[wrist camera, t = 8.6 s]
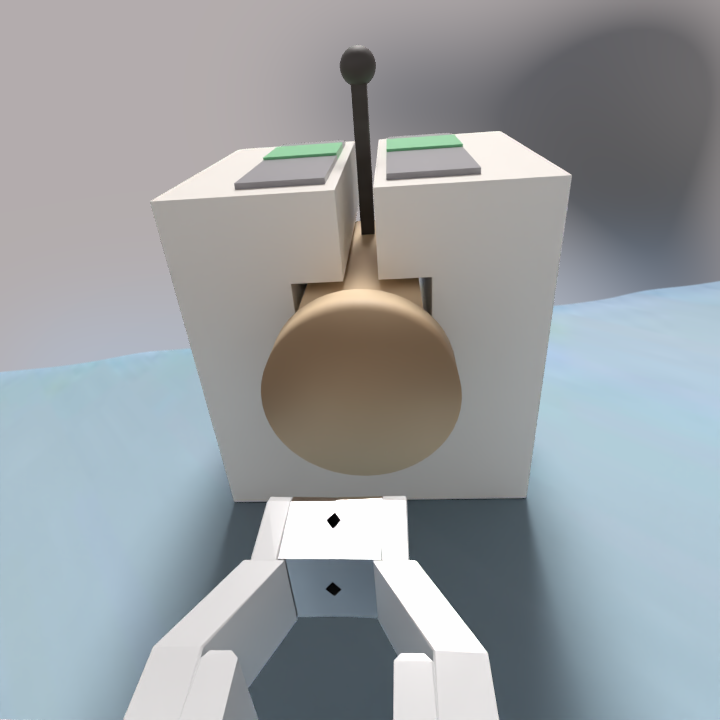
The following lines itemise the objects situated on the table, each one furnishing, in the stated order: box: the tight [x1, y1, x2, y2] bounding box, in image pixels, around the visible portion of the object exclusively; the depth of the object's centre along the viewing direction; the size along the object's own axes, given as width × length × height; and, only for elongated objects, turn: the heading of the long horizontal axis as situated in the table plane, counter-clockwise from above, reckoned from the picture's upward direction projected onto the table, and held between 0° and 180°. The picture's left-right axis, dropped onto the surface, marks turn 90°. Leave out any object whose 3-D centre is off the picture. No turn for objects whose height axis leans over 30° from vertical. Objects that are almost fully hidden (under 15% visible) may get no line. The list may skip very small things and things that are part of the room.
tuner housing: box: [150, 131, 572, 502], centre depth 23 cm, size 11×13×14 cm
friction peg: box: [261, 45, 462, 476], centre depth 19 cm, size 12×6×12 cm, turn 177°
